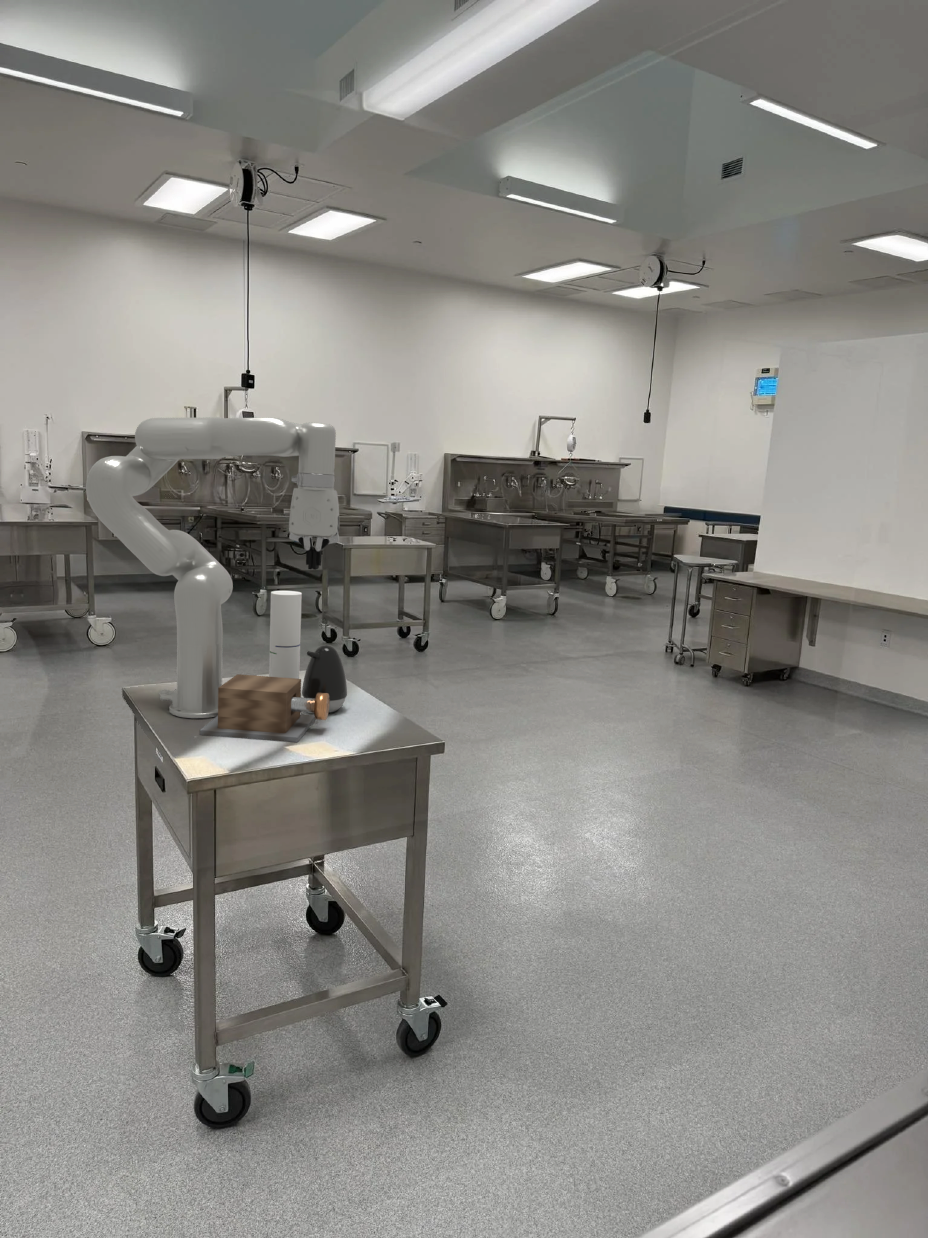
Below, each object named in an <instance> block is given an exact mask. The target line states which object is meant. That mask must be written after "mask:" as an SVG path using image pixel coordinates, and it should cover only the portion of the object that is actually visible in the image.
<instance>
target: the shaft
mask: <svg viewBox="0 0 928 1238" xmlns="http://www.w3.org/2000/svg"><path fill="white" fill-rule="evenodd" d="M329 702H330V700H329V694H328V693H317V695H316V698H315V699H314V698H304V697H302V696H301V697H291V711H295V712H300V713H309V714H310V713H312V714H313V715H314V717H315V719H316V720H319V721H326V720H327V719H328V716H329V713H328V712H329Z"/></svg>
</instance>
